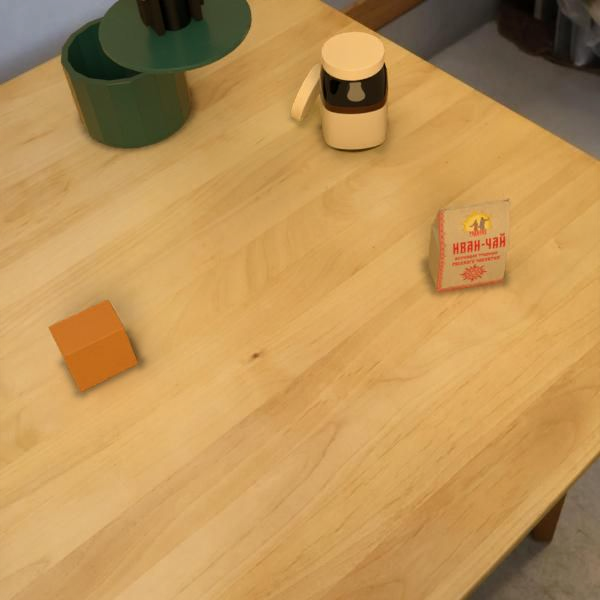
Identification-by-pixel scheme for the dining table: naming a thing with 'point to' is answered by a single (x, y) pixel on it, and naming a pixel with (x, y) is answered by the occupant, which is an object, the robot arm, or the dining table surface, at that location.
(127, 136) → the pot
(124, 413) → the dining table surface
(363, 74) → the spread jar
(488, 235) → the tea bag
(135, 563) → the dining table surface
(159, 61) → the lid
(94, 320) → the orange seamed cube
